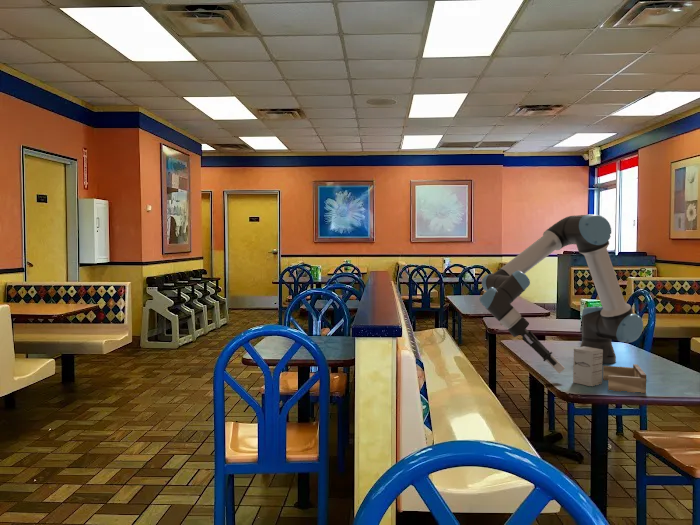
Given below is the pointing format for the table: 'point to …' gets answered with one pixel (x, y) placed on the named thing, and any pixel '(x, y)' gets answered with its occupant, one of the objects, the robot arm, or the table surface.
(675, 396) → the table surface
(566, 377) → the table surface
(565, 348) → the table surface
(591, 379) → the supplement box
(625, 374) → the brown wooden frame
